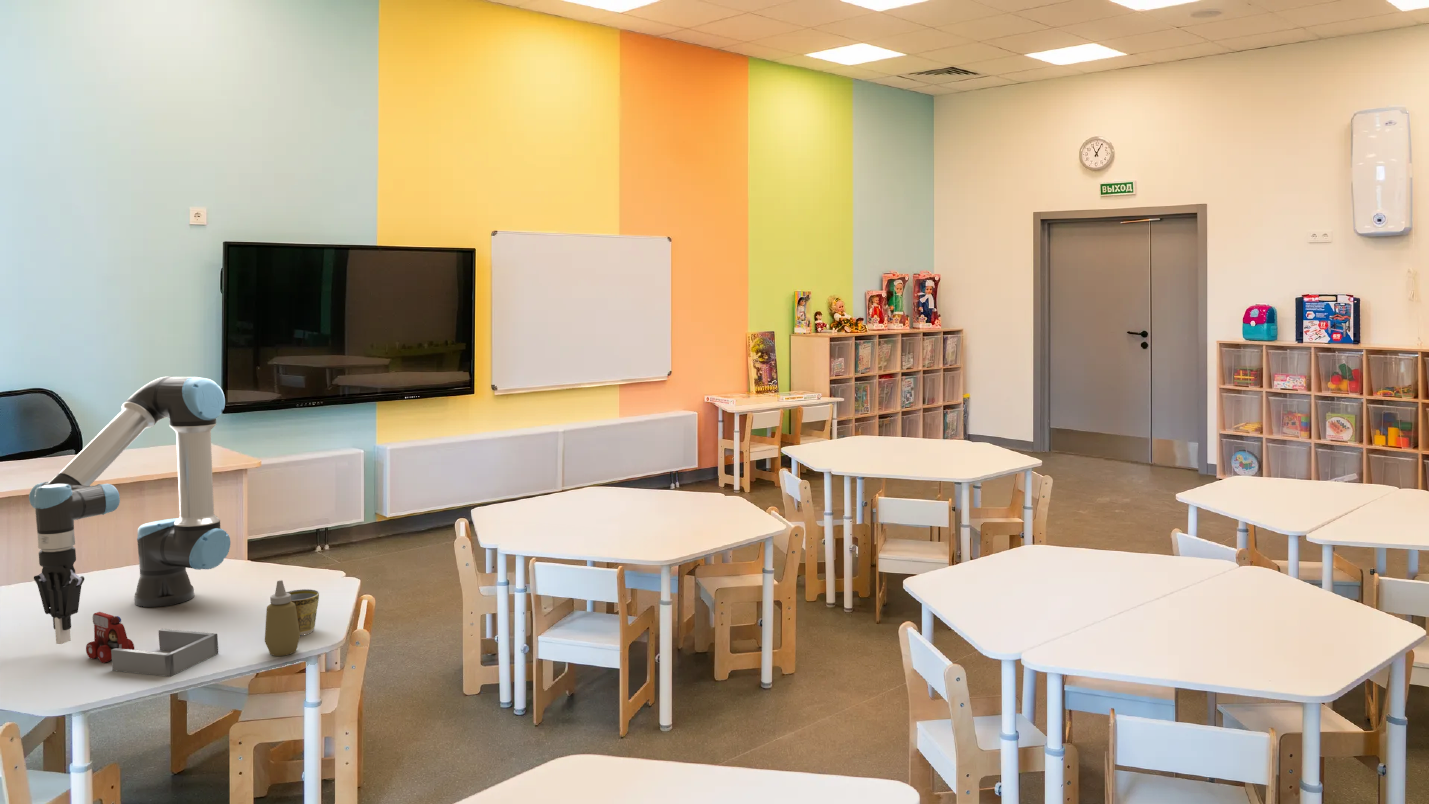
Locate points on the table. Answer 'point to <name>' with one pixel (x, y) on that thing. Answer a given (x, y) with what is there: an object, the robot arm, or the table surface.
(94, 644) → the toy fire truck
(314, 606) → the ceramic cup
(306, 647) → the table surface
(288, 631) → the squeeze bottle
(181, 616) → the table surface
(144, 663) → the box
